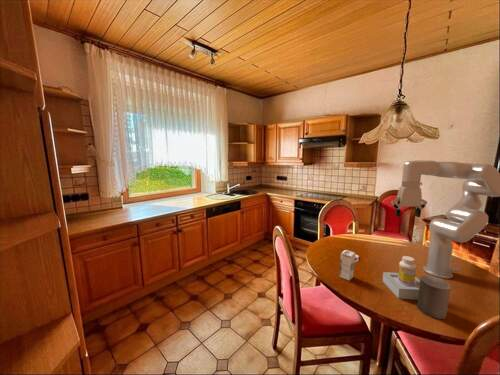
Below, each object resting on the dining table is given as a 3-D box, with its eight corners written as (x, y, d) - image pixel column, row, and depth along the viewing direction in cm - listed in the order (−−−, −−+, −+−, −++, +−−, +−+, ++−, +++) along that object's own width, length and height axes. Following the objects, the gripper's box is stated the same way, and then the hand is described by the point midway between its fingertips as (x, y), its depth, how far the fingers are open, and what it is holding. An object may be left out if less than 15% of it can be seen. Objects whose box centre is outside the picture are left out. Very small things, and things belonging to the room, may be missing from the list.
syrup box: (343, 272, 118) (344, 249, 116) (353, 277, 114) (355, 252, 112) (338, 277, 114) (340, 252, 112) (350, 281, 110) (351, 256, 108)
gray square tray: (410, 282, 109) (411, 273, 108) (430, 300, 95) (431, 290, 94) (382, 280, 110) (383, 272, 110) (398, 298, 97) (399, 288, 96)
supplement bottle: (398, 276, 107) (400, 253, 105) (414, 281, 103) (417, 257, 101) (397, 283, 102) (399, 258, 100) (414, 288, 98) (417, 263, 96)
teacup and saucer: (357, 256, 138) (357, 250, 138) (362, 262, 130) (362, 256, 130) (343, 256, 139) (343, 250, 139) (347, 262, 131) (348, 256, 131)
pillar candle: (412, 308, 90) (416, 276, 88) (422, 300, 95) (426, 270, 93) (441, 323, 82) (446, 288, 80) (450, 313, 87) (455, 280, 85)
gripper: (423, 183, 110) (420, 214, 113) (389, 183, 112) (386, 214, 114) (434, 185, 103) (430, 218, 105) (397, 185, 105) (394, 218, 107)
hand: (407, 216), depth 110 cm, fingers open, 9 cm apart
